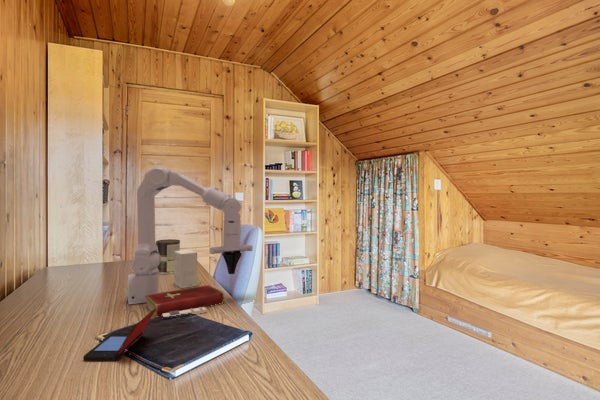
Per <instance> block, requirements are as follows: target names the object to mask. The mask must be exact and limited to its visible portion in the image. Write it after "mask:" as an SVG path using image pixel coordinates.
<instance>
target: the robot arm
mask: <svg viewBox="0 0 600 400" xmlns="http://www.w3.org/2000/svg"><path fill="white" fill-rule="evenodd" d="M172 186H173V187H174V186H177V187H178V186H180V187H181V188H184V189H186V190H189V191H190V192H192V193H195V194H197V195H198V196H200V197H201V198H202V201H203V202H204V203H206V204H207V205H209V206H211V207H213V208H215V209H217V210H219V211H221V210H222V212H223V215H224V216H223V218H224V219H223V229H222V230H223V231H222V233H223V234H222V235H223V238H222V243H223V244H222V245H221V246H214V247H209V254H210V255H215V254H221V255H222V257H223V260H224V261H225V265H226V268H227V273H228V274H229V275H235V273H236V269H237V266H238V263H239V260H240V259H241V257H242V252H253V251H254V249H253V248H254V246H253V245H251V244H241V225H242V222H241V221H242V220H241V210H242V204H241V202H240V200H238V199H237V198H236V197H235V198H234V197H232V195H231V194H227V193H225V192H222V191H221V190H220V188H218V187H217V186H216V187H213V186H208V187H204V186H203V185H201V184H200V183H198V182H196V181H194V180H192V179H190V177H187V176H185V175H183V174H181V173H178V172H175V171H172V170H171V169H167V168H163V167H161V166H154V167H152V168H151V169H149V170H148V171H146V172H145V173H144V177H143V180H142V181H141V183H140V185H139V186H138V187H137V192H136V200H137V201H136V204H137V210H136V211H137V243H138V244H137V246H136V248H135V250H134V258H133V259H132V260H131V261H132V262H131V268H132V270H133V272H134V273H131V274H130V273H129V274H128V275H127V286H126V287H127V288H126V289H127V291H126V299H127V303H128V305H136V304H145V303H147V298H146V297H145V295H150V294H156V293H159V280H160V279H159V275H160V274H159V270H158V268H157V266H158V265H159V264H160V262H161V256H160V254H159V252H158V247H157V245H156V211H155V210H156V209H155V206H156V205H155V199H156V198H155V196H157V195H158V194H159V193H161V192H162V191H163V190H165V189H168V188H170V187H172ZM231 197H232V198H231Z"/></svg>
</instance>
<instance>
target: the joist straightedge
mask: <svg viewBox="0 0 600 400" xmlns="http://www.w3.org/2000/svg"><path fill="white" fill-rule="evenodd" d="M204 312H208V309H207V307H199V308H195V309H192V308H190V309H188V310H182V311H178V310H176V311H169V313H163V314H162V316H163V317H169V316H176V315H181V314H188V313H192V314H196V315H201V314H200V313H202V314H205V313H204ZM162 316H161V317H162Z"/></svg>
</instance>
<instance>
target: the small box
mask: <svg viewBox="0 0 600 400" xmlns="http://www.w3.org/2000/svg"><path fill="white" fill-rule="evenodd" d="M173 285H175V286H176V287H178V288H179V289H186V288H193V287H198V286H197V285H198V252H197V251H194V250H191V249H185V250H180V251H174V273H173Z"/></svg>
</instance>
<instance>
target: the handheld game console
mask: <svg viewBox="0 0 600 400" xmlns="http://www.w3.org/2000/svg"><path fill="white" fill-rule="evenodd" d="M155 311H156V309H154V310H152V311H150V312H149V313H148V314H146V315H145V316H144V317H142V319H141V320H140V321H138V323H136V324H135V325H134V326H132V328H131V329H130V331H129V332H113V333H111V334H109V335H108V336H106V338H104V339H103V340H102V341H100V342H99V343H98V344H97V345H95V346H94V347H93V348H91V349H90V350H89V351H87V352H86V353H85V354H84V356H83V361H85V362H118V361H119V360H120V359H122V357H123V356H124V355H125V354H126V353H125V352H124V351H125V349H126V348H127V347H129V346H130V345H131V344H132V343H133V342H134V341H135V340H136V339H138V338H139V337H140V336H141V335H142V334H143V335H144V331H145V329H146V327H147V325H148V324H149V323H150V321H151V320H152V318H153V316H155V315H154V313H155Z"/></svg>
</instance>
